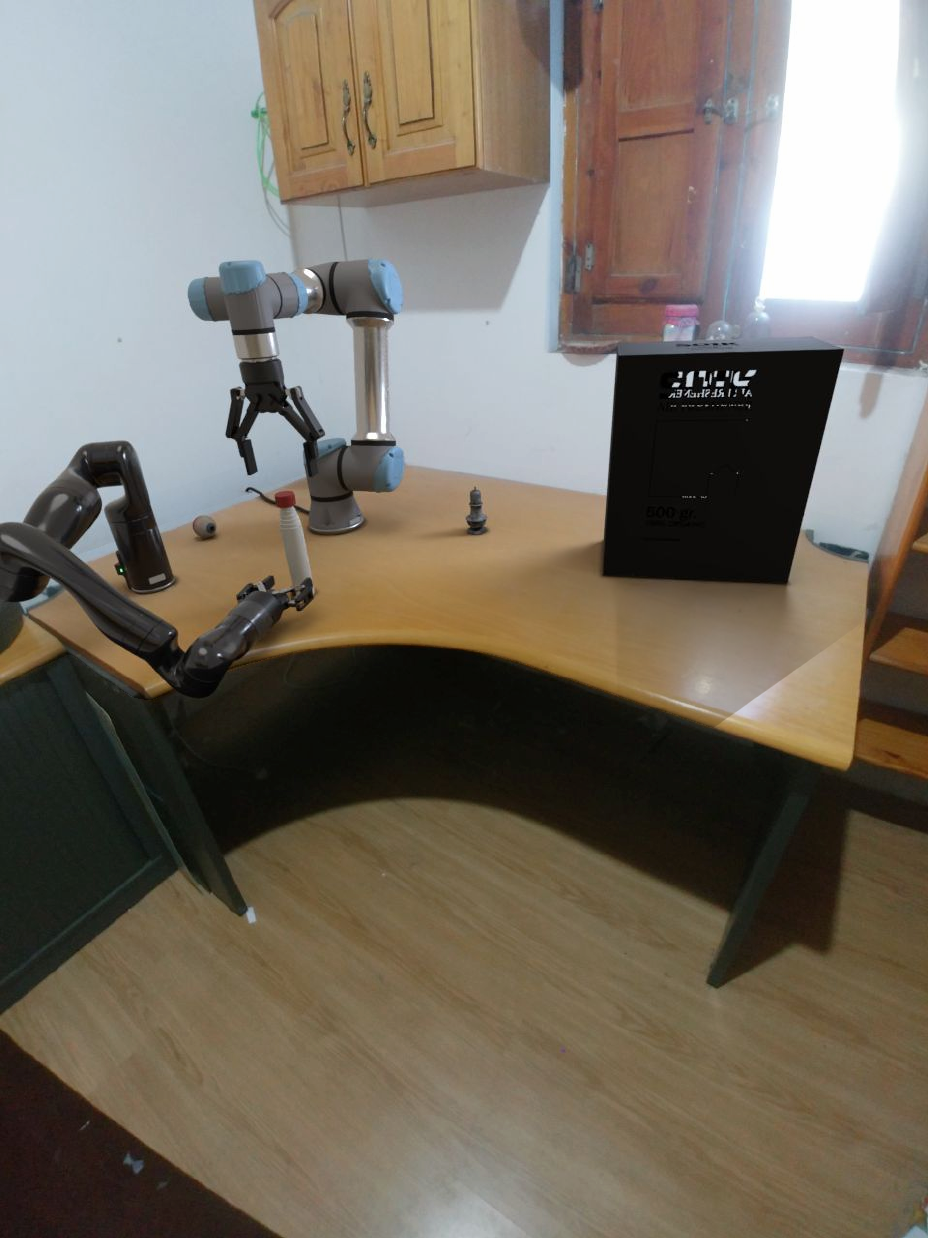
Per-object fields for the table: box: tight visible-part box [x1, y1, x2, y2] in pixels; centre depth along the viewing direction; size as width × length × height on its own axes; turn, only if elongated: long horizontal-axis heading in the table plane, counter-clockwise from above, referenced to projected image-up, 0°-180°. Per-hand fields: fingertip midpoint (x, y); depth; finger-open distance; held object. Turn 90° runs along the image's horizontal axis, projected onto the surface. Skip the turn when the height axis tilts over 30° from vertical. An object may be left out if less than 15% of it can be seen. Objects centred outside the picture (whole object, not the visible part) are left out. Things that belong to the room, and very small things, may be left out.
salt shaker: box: [464, 486, 489, 535], centre depth 157 cm, size 6×6×12 cm
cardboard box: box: [602, 336, 845, 585], centre depth 127 cm, size 38×20×45 cm, turn 78°
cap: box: [274, 490, 297, 509], centre depth 123 cm, size 4×4×2 cm
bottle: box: [279, 506, 316, 596], centre depth 128 cm, size 4×4×22 cm
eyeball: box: [192, 514, 217, 538], centre depth 165 cm, size 6×6×6 cm
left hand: (291, 580), depth 127 cm, fingers open, 8 cm apart
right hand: (282, 474), depth 120 cm, fingers open, 13 cm apart
